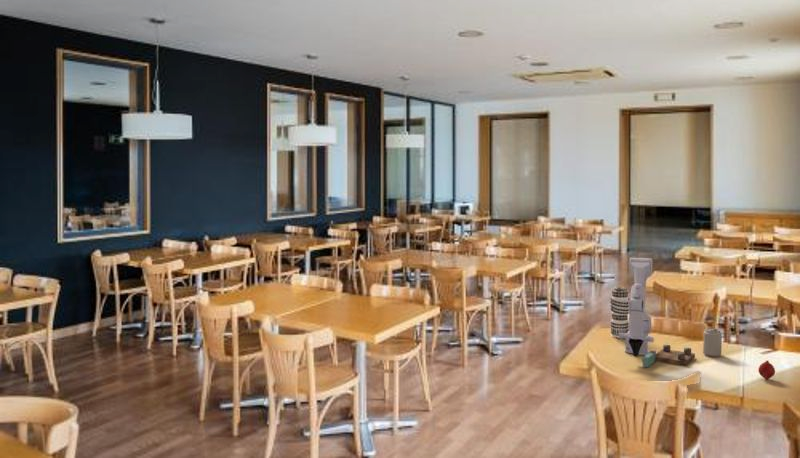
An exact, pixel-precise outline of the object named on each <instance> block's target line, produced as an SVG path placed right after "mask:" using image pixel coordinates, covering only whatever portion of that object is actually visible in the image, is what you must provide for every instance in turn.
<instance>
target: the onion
mask: <svg viewBox="0 0 800 458" xmlns="http://www.w3.org/2000/svg"><path fill="white" fill-rule="evenodd" d="M757 371H758V373H759V374H760V377H762V378H763V379H765V380H766V381H767V380H769V379H771V378H772V377H774V376H775V374H776V369H775V366H774V365H773V364H772V363H771V362H769V360H765V361H764V362H762V363H761V364H760V365H759V367H758V370H757Z"/></svg>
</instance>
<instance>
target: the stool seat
mask: <svg viewBox="0 0 800 458" xmlns="http://www.w3.org/2000/svg"><path fill="white" fill-rule="evenodd" d="M695 357H696V353H693V352H692V348H691V347H684V348H683V351H679V350H673V349H671V345H670V344H663V347H662V349H661V350H659V351H658V352H656V362H659V363H666V364H672V365H675V366H676V365H678V366H683V367H687V366H688V365H690V363H691V362H692V361H693V360H694V359H696V358H695Z"/></svg>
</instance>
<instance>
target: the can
mask: <svg viewBox="0 0 800 458" xmlns="http://www.w3.org/2000/svg"><path fill="white" fill-rule="evenodd" d="M722 340H723V334H722V332H721V329H720V328H716V327H707V328H705V329H704V331H703V344H702V345H703V346H702V347H703V348H702V353H703V354H704V355H705V356H707V357H711V358H717V357H716V356H718V357H720V356H721V355H722V348H723V347H722V343H723V341H722Z"/></svg>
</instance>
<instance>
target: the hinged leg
mask: <svg viewBox="0 0 800 458" xmlns="http://www.w3.org/2000/svg"><path fill="white" fill-rule="evenodd" d="M656 354H657V352H656V350H650V352H649V353H648V354H647V355H643V357H642V367H644V368H648V367H650V366H652V365H653V364H654V363H656V362H657V361H656Z"/></svg>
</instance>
